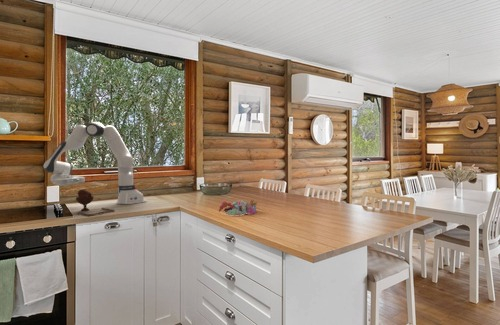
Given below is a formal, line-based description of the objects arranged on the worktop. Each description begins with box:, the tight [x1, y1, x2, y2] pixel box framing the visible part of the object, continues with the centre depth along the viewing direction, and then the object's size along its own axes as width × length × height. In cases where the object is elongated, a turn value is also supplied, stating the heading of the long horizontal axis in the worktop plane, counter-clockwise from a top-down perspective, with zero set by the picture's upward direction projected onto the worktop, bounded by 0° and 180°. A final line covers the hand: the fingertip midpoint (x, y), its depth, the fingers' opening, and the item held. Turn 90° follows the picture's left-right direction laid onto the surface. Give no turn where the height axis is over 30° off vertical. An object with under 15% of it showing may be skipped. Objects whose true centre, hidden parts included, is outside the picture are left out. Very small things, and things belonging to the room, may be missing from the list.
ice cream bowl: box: [75, 189, 94, 212], centre depth 214 cm, size 11×11×15 cm
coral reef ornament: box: [218, 199, 258, 215], centre depth 207 cm, size 25×24×9 cm
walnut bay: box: [76, 207, 115, 217], centre depth 207 cm, size 18×14×1 cm
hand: (75, 181), depth 220 cm, fingers open, 3 cm apart
